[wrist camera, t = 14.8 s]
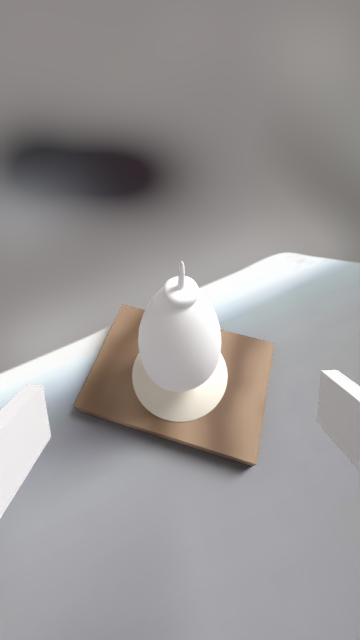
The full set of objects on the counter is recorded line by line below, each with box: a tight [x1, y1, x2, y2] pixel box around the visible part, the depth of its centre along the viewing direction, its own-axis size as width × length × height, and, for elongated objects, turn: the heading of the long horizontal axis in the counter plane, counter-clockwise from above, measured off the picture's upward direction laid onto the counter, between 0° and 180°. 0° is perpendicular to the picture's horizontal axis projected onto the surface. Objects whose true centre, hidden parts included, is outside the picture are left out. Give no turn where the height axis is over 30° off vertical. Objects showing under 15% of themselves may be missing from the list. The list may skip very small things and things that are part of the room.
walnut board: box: [74, 305, 274, 466], centre depth 35 cm, size 20×14×2 cm
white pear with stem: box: [138, 261, 221, 392], centre depth 27 cm, size 8×8×18 cm
